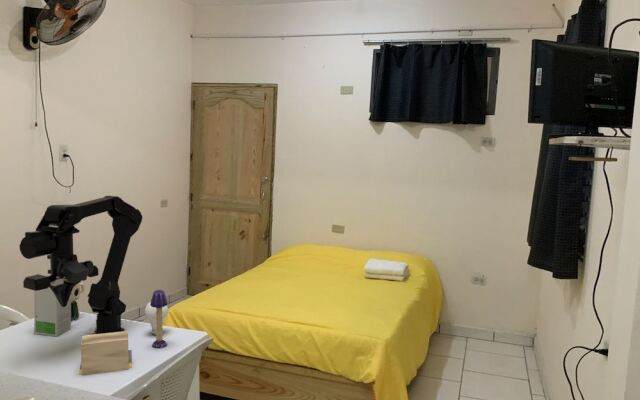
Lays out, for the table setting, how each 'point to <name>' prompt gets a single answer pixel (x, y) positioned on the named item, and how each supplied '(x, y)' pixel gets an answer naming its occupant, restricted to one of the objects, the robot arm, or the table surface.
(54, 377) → the table surface
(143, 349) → the table surface
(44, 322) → the skincare box
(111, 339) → the pine block
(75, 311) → the character mug
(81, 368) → the gray board
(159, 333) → the toy lamp
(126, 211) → the robot arm
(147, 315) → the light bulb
